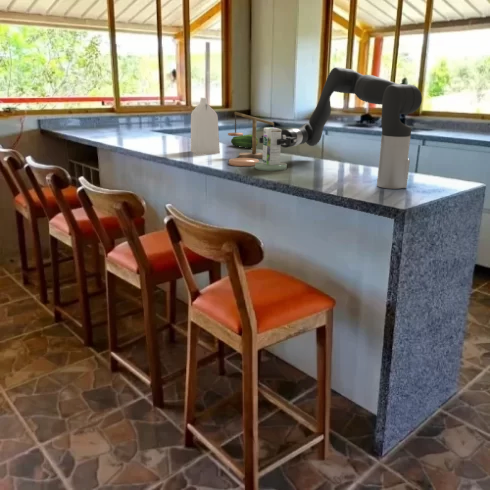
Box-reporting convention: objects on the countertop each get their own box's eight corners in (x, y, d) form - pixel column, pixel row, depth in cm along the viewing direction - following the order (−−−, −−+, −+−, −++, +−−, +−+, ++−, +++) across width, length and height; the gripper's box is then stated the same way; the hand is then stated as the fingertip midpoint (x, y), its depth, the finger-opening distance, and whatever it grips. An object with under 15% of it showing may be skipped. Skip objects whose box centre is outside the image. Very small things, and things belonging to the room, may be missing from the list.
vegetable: (253, 132, 246) (229, 130, 260) (248, 146, 246) (224, 142, 260) (262, 138, 251) (238, 135, 265) (257, 151, 251) (234, 147, 265)
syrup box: (261, 163, 197) (262, 127, 193) (274, 162, 199) (275, 127, 195) (267, 165, 192) (268, 128, 188) (280, 164, 194) (281, 128, 190)
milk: (219, 153, 234) (219, 98, 226) (197, 154, 230) (195, 98, 222) (212, 150, 245) (211, 97, 236) (190, 151, 241) (188, 97, 232)
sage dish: (285, 165, 203) (285, 161, 202) (288, 170, 190) (288, 166, 190) (254, 165, 202) (254, 161, 202) (255, 170, 190) (255, 166, 190)
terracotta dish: (258, 161, 212) (258, 157, 211) (259, 166, 200) (259, 162, 199) (229, 161, 212) (229, 157, 211) (228, 166, 199) (228, 162, 199)
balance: (279, 156, 227) (280, 111, 220) (280, 158, 221) (282, 112, 214) (228, 155, 227) (228, 111, 220) (227, 158, 220) (227, 112, 213)
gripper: (276, 127, 206) (254, 130, 194) (305, 129, 198) (284, 133, 186) (276, 145, 209) (254, 149, 197) (304, 148, 201) (283, 152, 188)
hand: (268, 141), depth 191 cm, fingers open, 8 cm apart
